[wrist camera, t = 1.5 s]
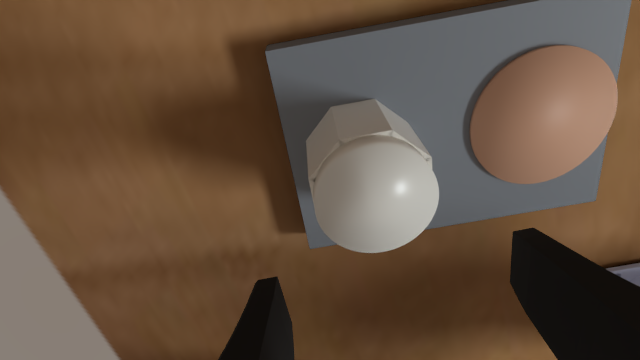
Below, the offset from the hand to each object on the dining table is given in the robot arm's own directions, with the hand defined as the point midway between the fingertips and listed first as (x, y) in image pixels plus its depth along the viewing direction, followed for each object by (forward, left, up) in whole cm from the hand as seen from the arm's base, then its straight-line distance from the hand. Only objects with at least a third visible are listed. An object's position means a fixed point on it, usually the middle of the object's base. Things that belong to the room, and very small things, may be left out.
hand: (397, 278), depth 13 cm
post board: (-5, 0, -11) cm, 12 cm away
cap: (0, 0, -9) cm, 9 cm away
